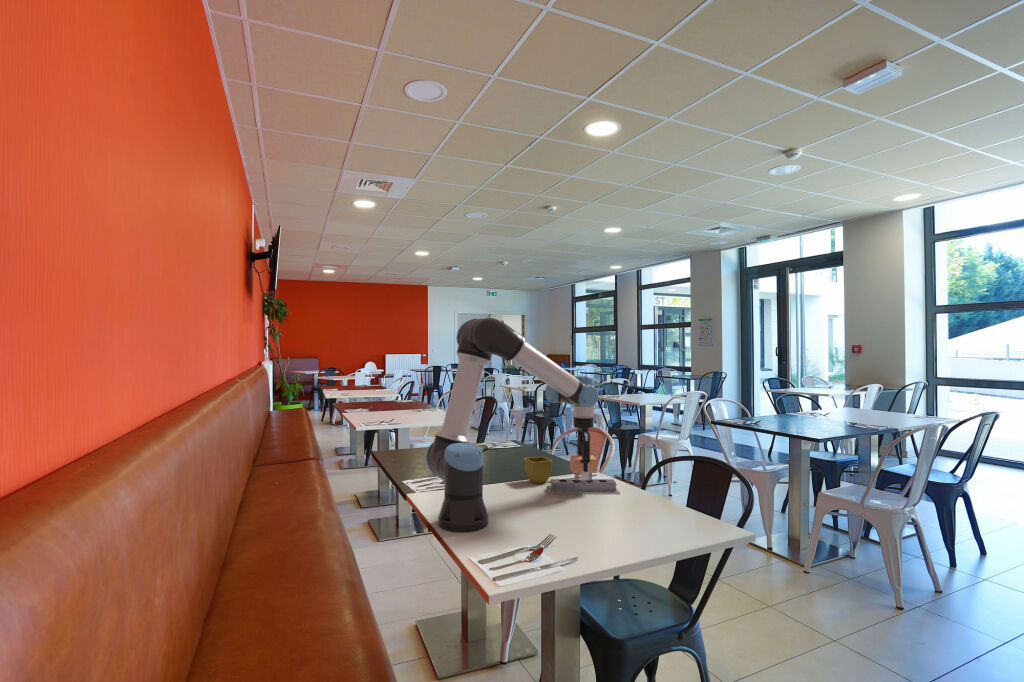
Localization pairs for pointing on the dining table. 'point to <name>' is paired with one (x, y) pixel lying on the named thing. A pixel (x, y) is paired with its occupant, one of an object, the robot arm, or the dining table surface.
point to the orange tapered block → (576, 465)
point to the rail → (583, 486)
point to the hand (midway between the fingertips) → (583, 477)
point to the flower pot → (538, 469)
